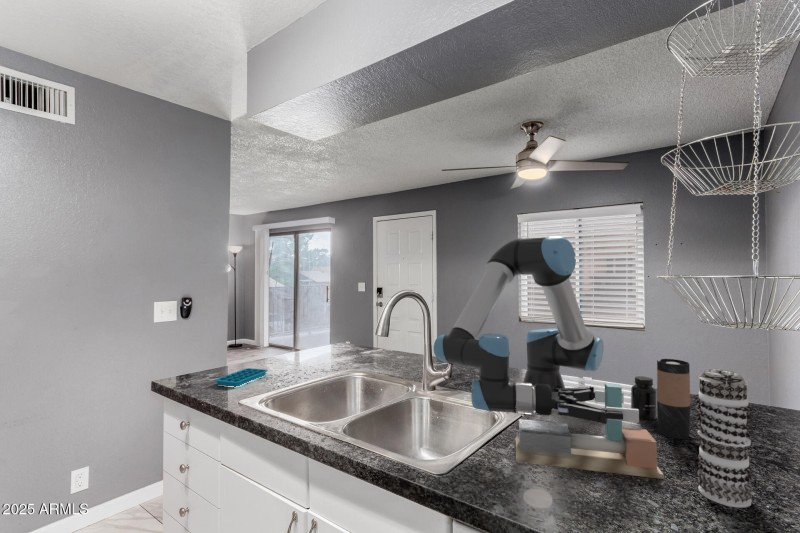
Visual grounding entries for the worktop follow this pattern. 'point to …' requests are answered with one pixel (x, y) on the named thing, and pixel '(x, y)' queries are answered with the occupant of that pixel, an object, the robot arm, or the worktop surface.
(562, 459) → the base board
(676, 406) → the travel mug
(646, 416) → the supplement bottle
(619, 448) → the slip tube
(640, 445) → the socket
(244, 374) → the ice cube tray
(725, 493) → the decorative candle
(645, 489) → the worktop surface
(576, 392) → the robot arm
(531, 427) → the sleeve
